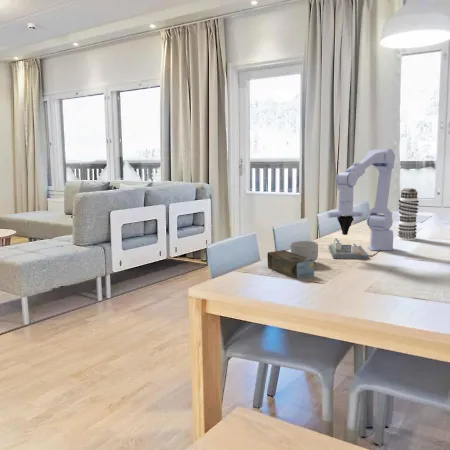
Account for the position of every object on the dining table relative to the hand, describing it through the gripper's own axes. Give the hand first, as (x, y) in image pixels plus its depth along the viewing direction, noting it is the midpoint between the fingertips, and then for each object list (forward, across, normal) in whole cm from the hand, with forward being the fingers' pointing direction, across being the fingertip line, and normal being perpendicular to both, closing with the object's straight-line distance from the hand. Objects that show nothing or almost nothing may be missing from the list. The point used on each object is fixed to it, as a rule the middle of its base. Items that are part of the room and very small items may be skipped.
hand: (344, 234), depth 190 cm
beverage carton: (+10, +29, +19) cm, 36 cm away
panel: (+9, -4, -6) cm, 12 cm away
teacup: (+10, +19, +6) cm, 22 cm away
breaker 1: (+8, -2, -13) cm, 15 cm away
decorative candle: (+10, -47, -33) cm, 58 cm away
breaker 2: (+8, 0, -7) cm, 10 cm away
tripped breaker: (+8, -4, +1) cm, 9 cm away
